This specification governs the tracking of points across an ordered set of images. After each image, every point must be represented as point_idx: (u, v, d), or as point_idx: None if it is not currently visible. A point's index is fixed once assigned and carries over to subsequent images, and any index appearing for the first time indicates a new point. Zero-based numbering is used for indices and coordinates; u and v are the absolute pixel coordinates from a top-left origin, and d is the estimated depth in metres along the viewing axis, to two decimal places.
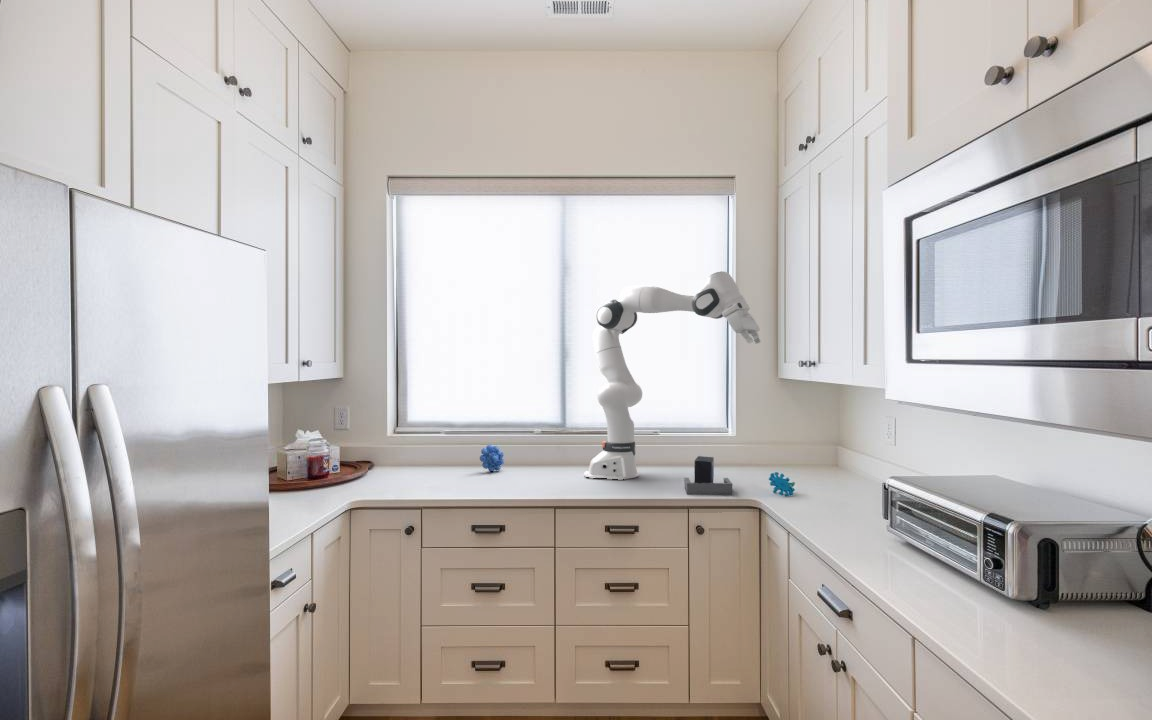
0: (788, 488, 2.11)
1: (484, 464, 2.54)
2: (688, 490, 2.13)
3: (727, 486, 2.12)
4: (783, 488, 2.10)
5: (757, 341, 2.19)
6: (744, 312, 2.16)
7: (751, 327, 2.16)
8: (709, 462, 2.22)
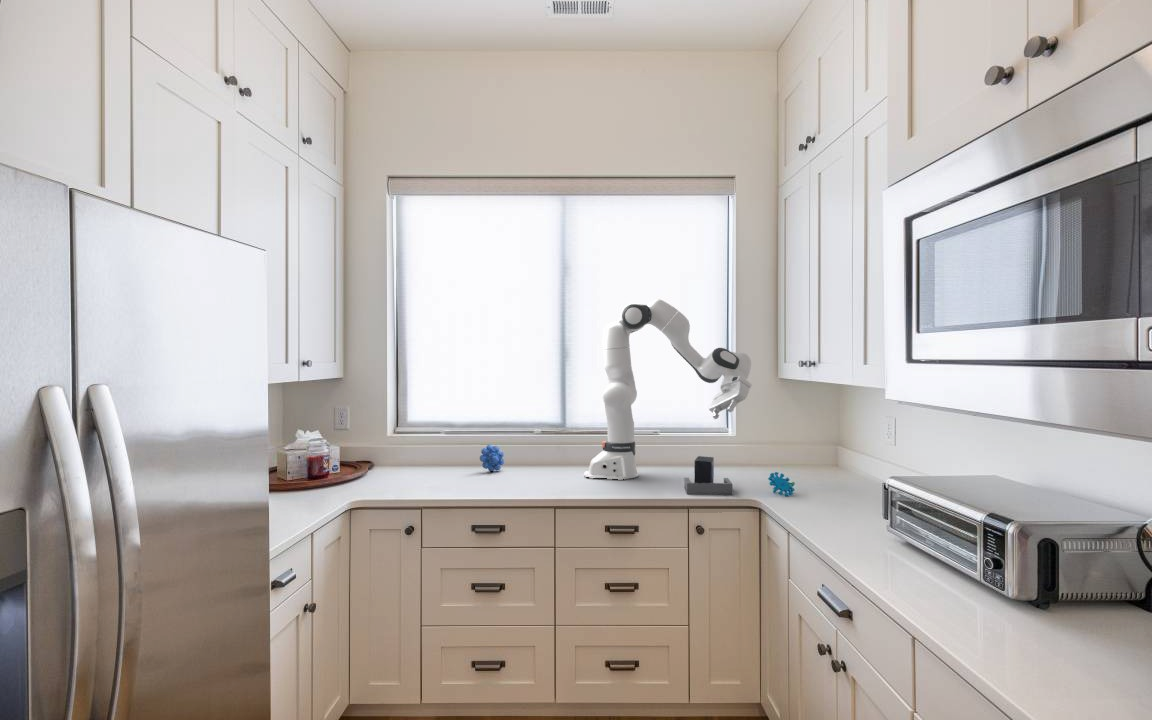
0: (788, 488, 2.11)
1: (484, 464, 2.54)
2: (688, 490, 2.13)
3: (727, 486, 2.12)
4: (783, 488, 2.10)
5: (716, 416, 2.35)
6: None
7: None
8: (709, 462, 2.22)
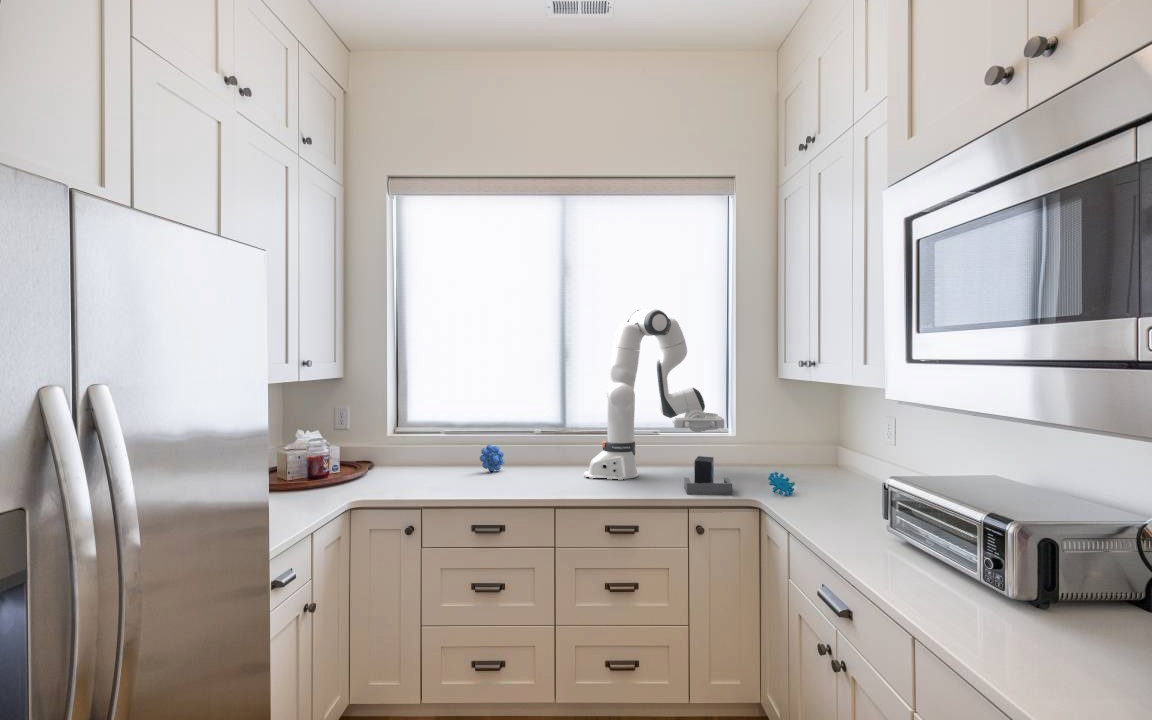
0: (788, 488, 2.11)
1: (484, 464, 2.54)
2: (688, 490, 2.13)
3: (727, 486, 2.12)
4: (782, 488, 2.10)
5: None
6: None
7: (700, 428, 2.42)
8: (709, 462, 2.22)
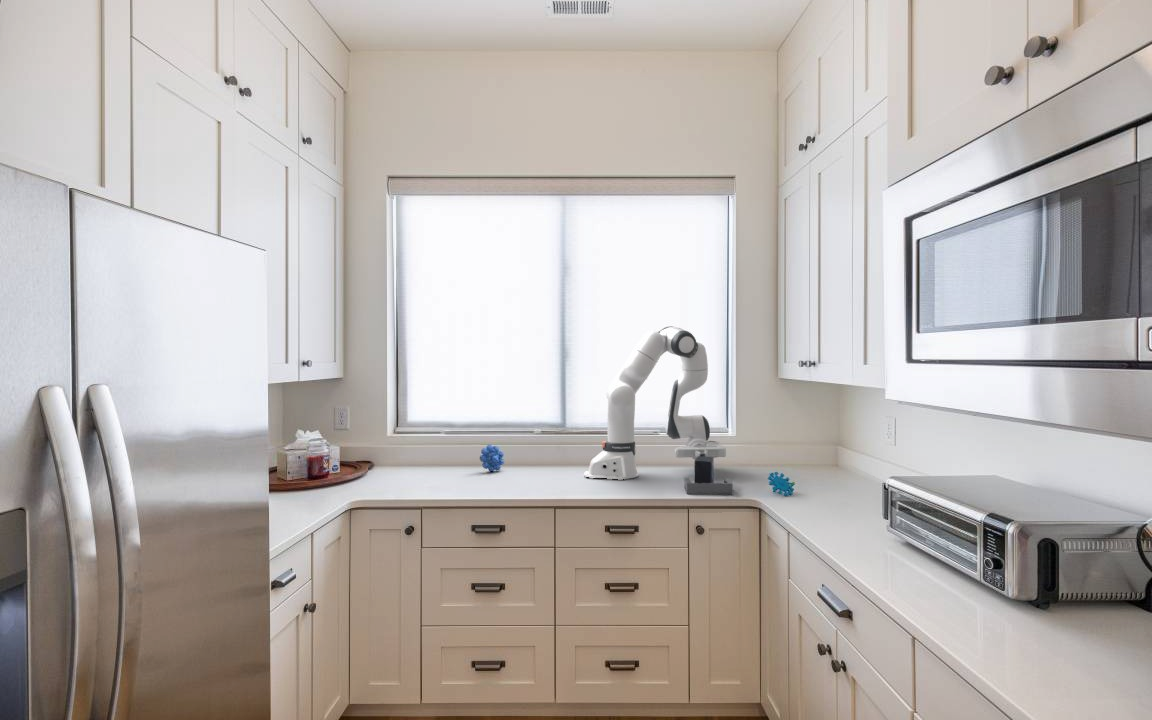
0: (787, 488, 2.11)
1: (484, 464, 2.54)
2: (688, 490, 2.13)
3: (727, 486, 2.12)
4: (782, 488, 2.10)
5: None
6: None
7: None
8: (709, 462, 2.22)
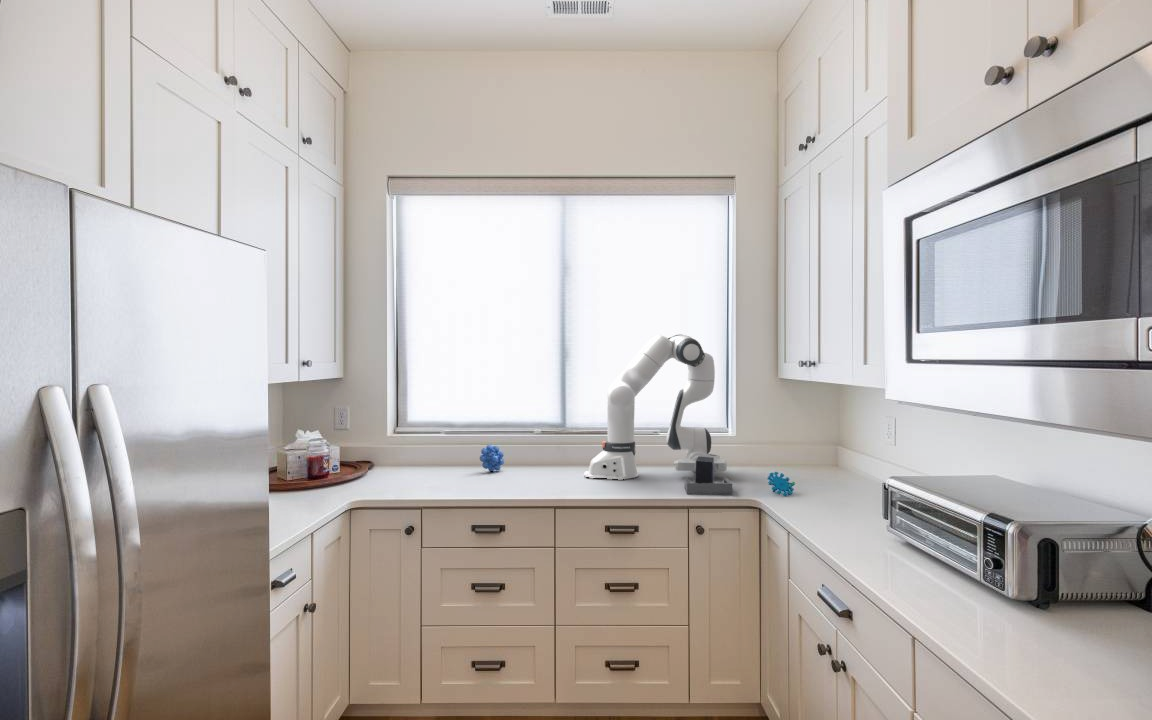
0: (787, 488, 2.11)
1: (484, 464, 2.54)
2: (688, 490, 2.13)
3: (727, 486, 2.12)
4: (781, 488, 2.11)
5: None
6: None
7: None
8: (710, 462, 2.21)
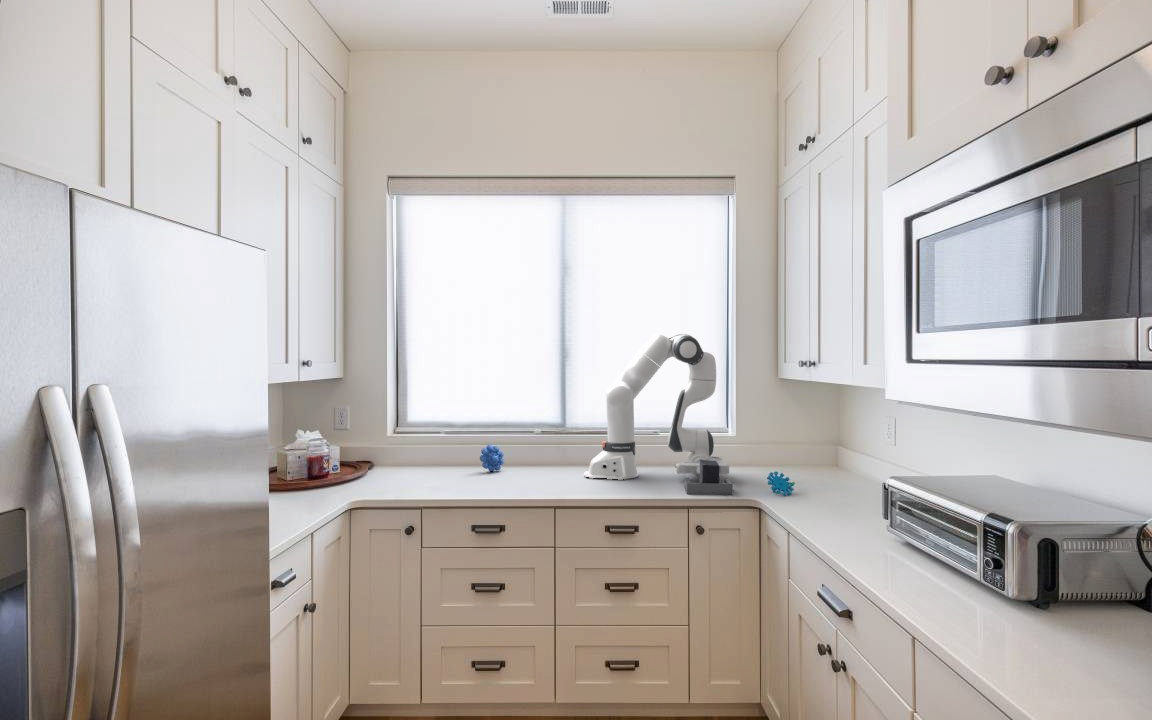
0: (787, 487, 2.12)
1: (484, 464, 2.54)
2: (688, 490, 2.13)
3: (727, 486, 2.12)
4: (781, 487, 2.11)
5: None
6: None
7: None
8: (718, 466, 2.14)
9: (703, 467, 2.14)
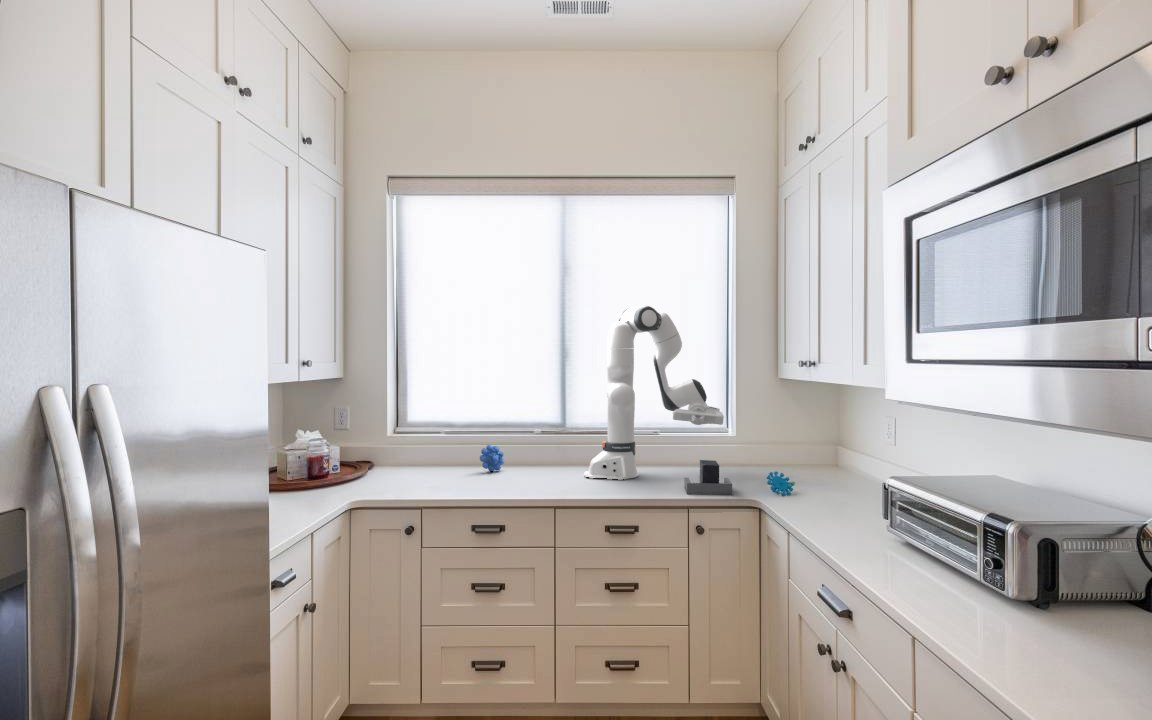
0: (786, 487, 2.12)
1: (484, 464, 2.54)
2: (688, 490, 2.13)
3: (727, 486, 2.12)
4: (780, 487, 2.11)
5: None
6: None
7: None
8: (718, 466, 2.14)
9: (703, 467, 2.14)
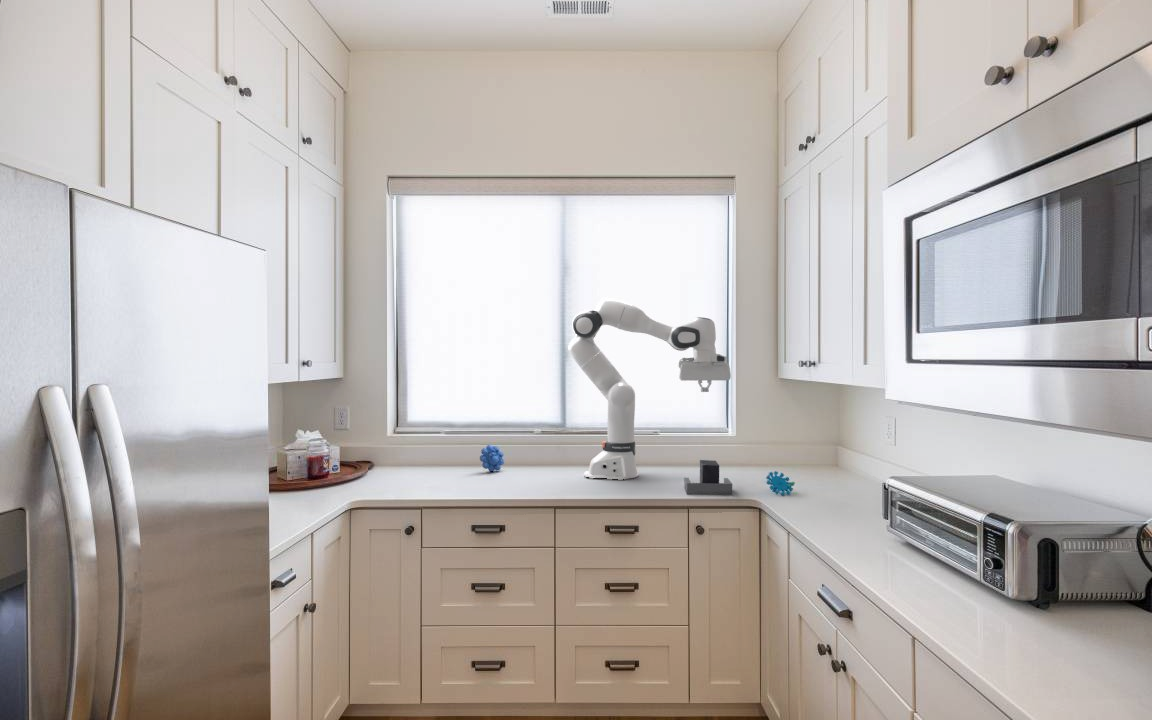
0: (786, 487, 2.12)
1: (484, 464, 2.54)
2: (688, 490, 2.13)
3: (727, 486, 2.12)
4: (780, 487, 2.11)
5: None
6: None
7: None
8: (718, 466, 2.14)
9: (703, 467, 2.14)
